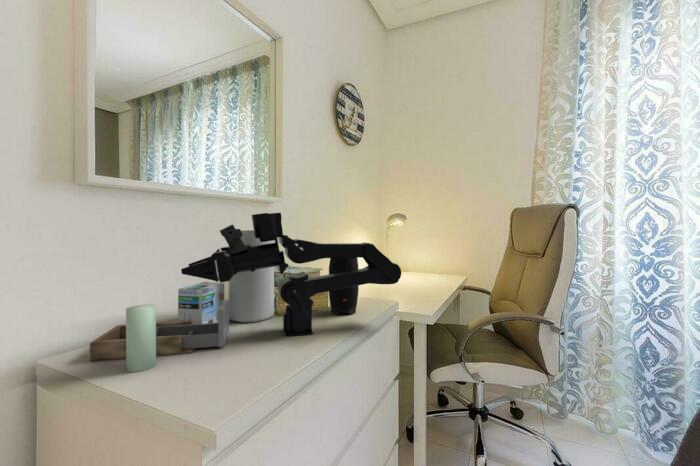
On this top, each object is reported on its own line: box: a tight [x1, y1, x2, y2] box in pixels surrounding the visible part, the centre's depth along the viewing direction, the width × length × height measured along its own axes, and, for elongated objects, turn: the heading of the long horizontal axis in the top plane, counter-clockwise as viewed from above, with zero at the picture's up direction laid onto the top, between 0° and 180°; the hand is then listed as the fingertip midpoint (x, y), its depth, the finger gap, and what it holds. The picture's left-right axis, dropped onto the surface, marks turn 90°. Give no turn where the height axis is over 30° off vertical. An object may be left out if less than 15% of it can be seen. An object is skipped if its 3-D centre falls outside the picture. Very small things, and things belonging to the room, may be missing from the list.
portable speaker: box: [328, 258, 360, 316], centre depth 97 cm, size 9×9×20 cm
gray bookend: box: [156, 298, 230, 349], centre depth 69 cm, size 16×10×8 cm, turn 104°
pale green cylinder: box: [125, 303, 157, 373], centre depth 58 cm, size 5×5×11 cm
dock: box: [89, 321, 196, 363], centre depth 68 cm, size 18×11×4 cm, turn 104°
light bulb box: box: [177, 281, 225, 324], centre depth 82 cm, size 11×7×11 cm, turn 172°
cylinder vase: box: [228, 229, 275, 323], centre depth 91 cm, size 12×12×25 cm
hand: (185, 268), depth 70 cm, fingers open, 9 cm apart
